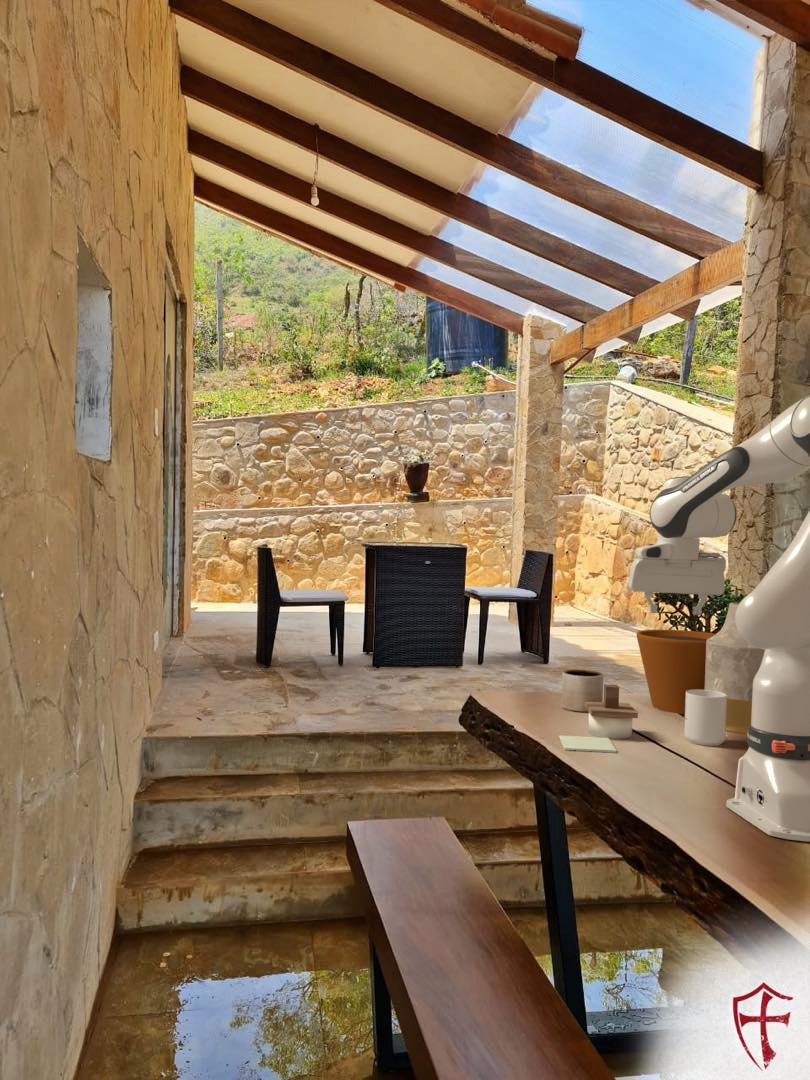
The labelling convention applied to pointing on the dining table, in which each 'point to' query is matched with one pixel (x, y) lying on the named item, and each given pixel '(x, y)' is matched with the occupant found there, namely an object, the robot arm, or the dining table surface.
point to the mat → (587, 744)
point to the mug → (705, 717)
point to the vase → (733, 671)
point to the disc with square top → (610, 727)
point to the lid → (611, 705)
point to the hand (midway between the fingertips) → (674, 613)
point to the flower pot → (673, 665)
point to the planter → (581, 689)
